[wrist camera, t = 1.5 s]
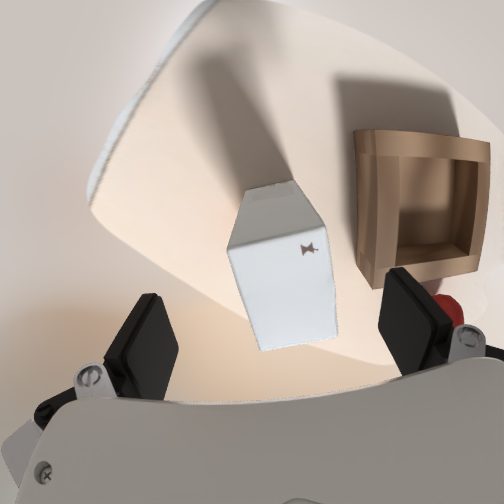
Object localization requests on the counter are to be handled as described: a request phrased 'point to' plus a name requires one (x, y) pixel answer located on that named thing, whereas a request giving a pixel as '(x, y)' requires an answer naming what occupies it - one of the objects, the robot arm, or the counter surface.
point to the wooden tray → (420, 203)
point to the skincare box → (283, 267)
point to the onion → (450, 308)
